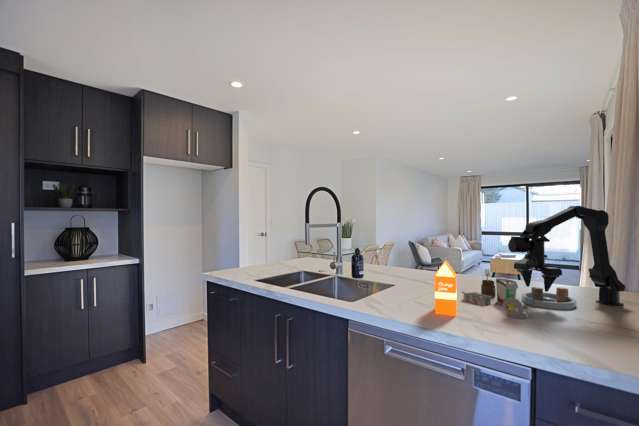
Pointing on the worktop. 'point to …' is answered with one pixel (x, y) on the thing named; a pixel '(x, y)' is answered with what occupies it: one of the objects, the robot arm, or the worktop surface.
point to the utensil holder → (488, 286)
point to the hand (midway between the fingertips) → (536, 288)
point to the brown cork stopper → (561, 294)
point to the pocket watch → (513, 307)
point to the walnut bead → (537, 293)
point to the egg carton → (477, 298)
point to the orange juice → (445, 290)
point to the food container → (505, 289)
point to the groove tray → (548, 301)
